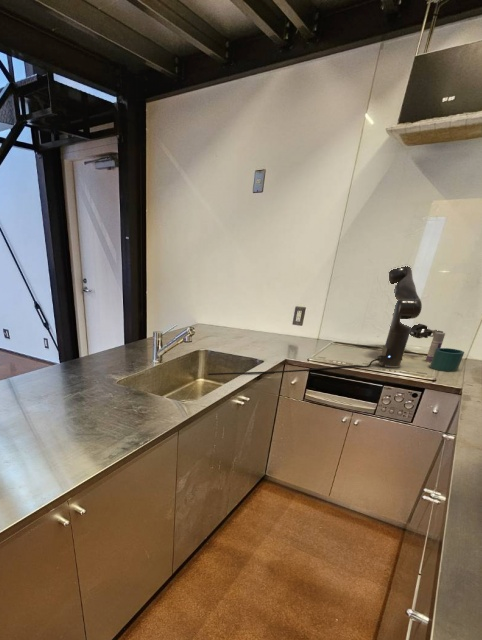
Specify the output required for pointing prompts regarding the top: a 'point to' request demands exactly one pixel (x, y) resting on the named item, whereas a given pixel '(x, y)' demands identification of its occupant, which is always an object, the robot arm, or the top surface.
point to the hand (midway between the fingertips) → (435, 335)
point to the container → (435, 345)
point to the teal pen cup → (446, 359)
